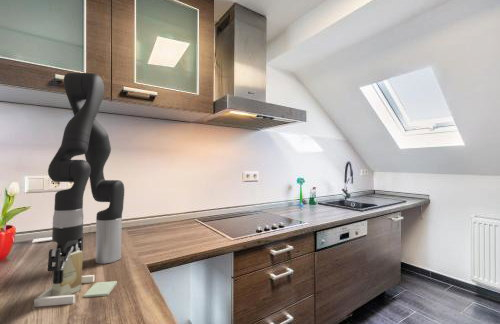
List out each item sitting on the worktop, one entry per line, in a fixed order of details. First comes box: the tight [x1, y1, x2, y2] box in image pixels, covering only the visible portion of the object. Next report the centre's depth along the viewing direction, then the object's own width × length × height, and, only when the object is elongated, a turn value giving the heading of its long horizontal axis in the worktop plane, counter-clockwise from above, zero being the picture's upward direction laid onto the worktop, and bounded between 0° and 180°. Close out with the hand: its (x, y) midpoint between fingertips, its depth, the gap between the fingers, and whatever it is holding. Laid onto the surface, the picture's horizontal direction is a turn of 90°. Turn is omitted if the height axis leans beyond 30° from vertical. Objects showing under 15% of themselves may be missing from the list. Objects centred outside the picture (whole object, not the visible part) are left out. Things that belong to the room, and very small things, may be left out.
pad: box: [83, 280, 118, 298], centre depth 75 cm, size 8×7×1 cm
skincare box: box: [51, 249, 84, 297], centre depth 73 cm, size 6×4×12 cm
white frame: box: [33, 274, 95, 308], centre depth 73 cm, size 14×10×2 cm
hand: (66, 276), depth 73 cm, fingers open, 8 cm apart
